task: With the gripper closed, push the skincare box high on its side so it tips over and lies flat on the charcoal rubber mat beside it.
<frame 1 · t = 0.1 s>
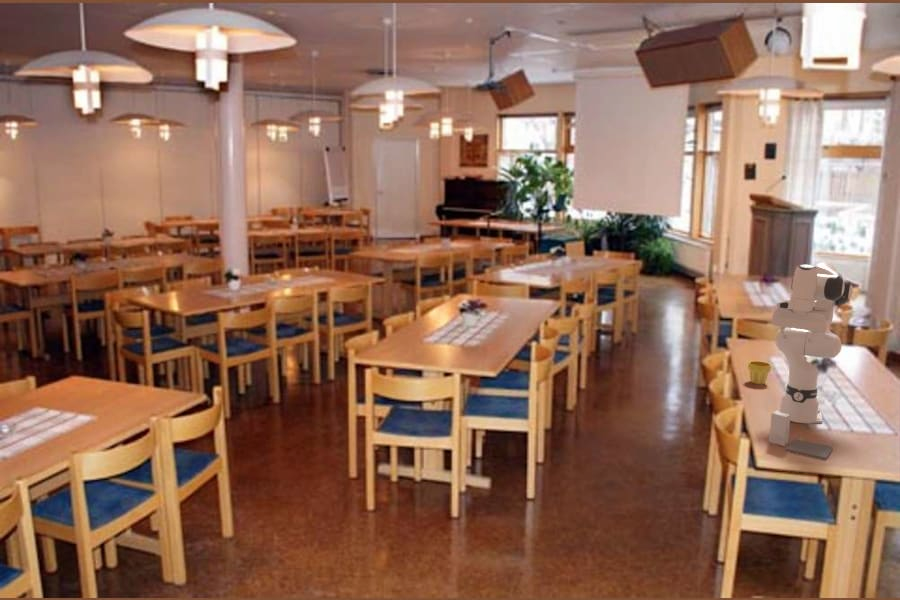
hand: (796, 340, 310), 39 cm above the table, tool pointing down, fingers open, 8 cm apart
skincare box: (778, 443, 306), on the table
plant pot: (757, 382, 387), on the table
rubber mat: (809, 450, 299), on the table
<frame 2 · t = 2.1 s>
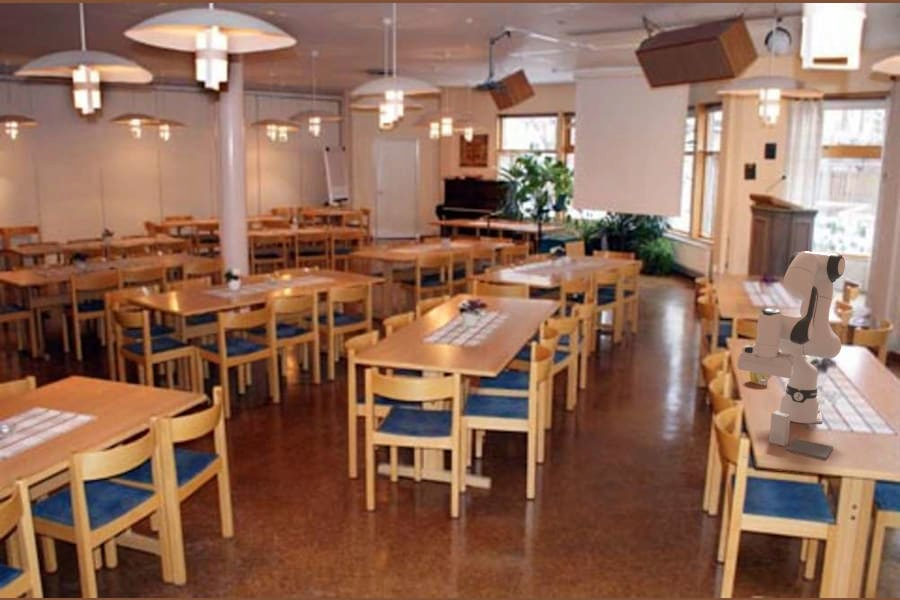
hand: (762, 384, 306), 22 cm above the table, tool pointing down, fingers closed
nothing on the table moved.
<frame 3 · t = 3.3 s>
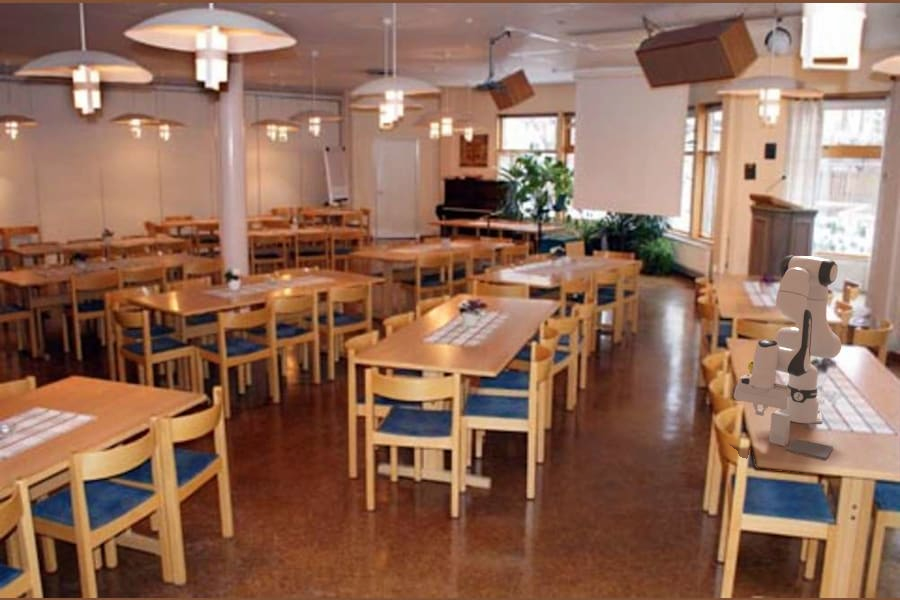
hand: (759, 414, 308), 10 cm above the table, tool pointing down, fingers closed
nothing on the table moved.
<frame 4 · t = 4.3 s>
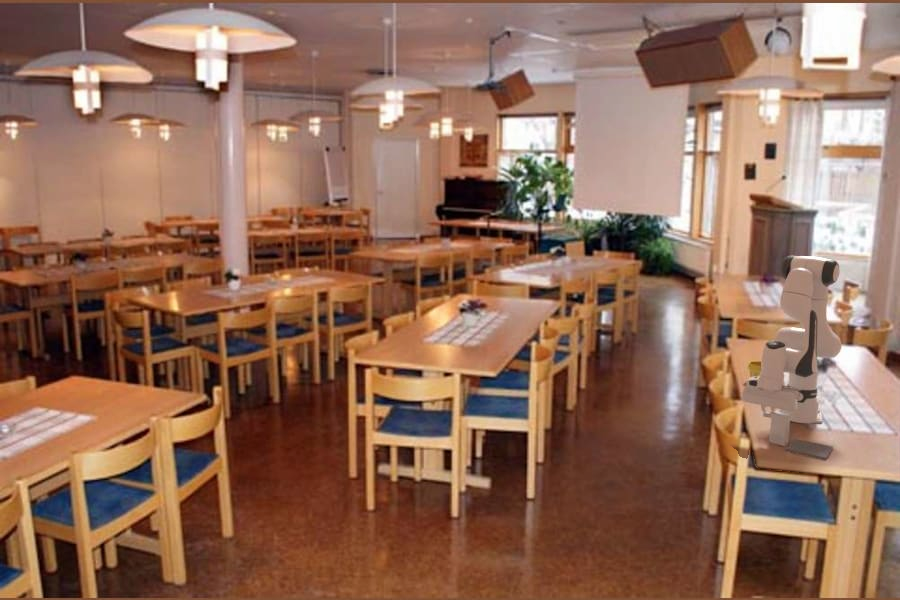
hand: (767, 416, 307), 10 cm above the table, tool pointing down, fingers closed
skincare box: (778, 443, 306), on the table, touching gripper
everything else where it was.
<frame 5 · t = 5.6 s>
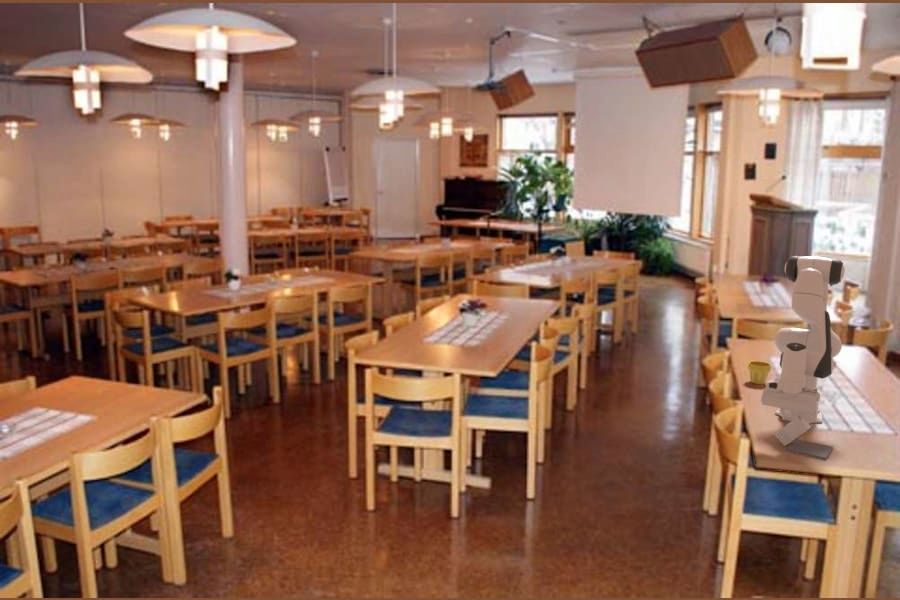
hand: (787, 420, 302), 10 cm above the table, tool pointing down, fingers closed
skincare box: (780, 439, 305), point 2 cm above the table, touching gripper
everything else where it was.
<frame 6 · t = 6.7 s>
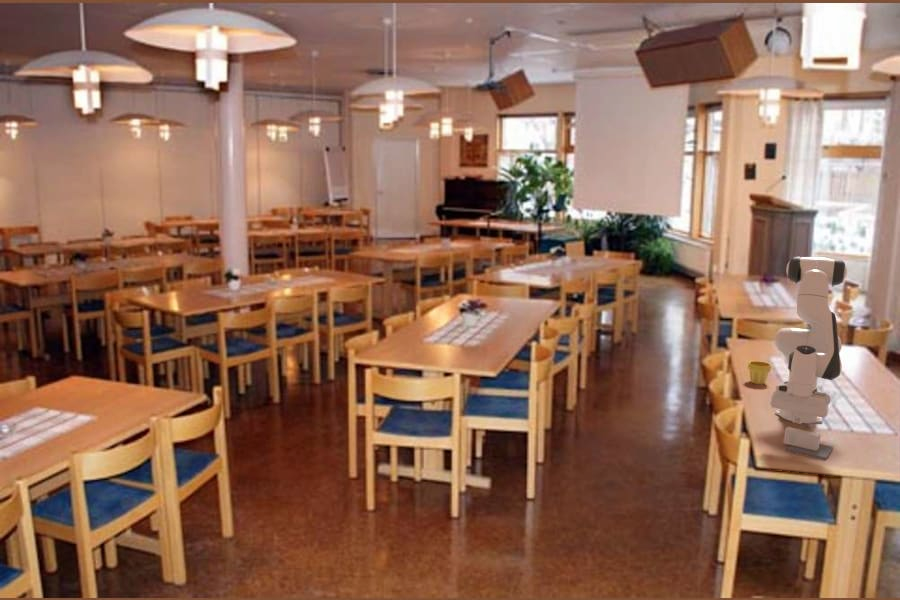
hand: (797, 423, 301), 10 cm above the table, tool pointing down, fingers closed
skincare box: (784, 434, 304), point 4 cm above the table, touching rubber mat
everything else where it was.
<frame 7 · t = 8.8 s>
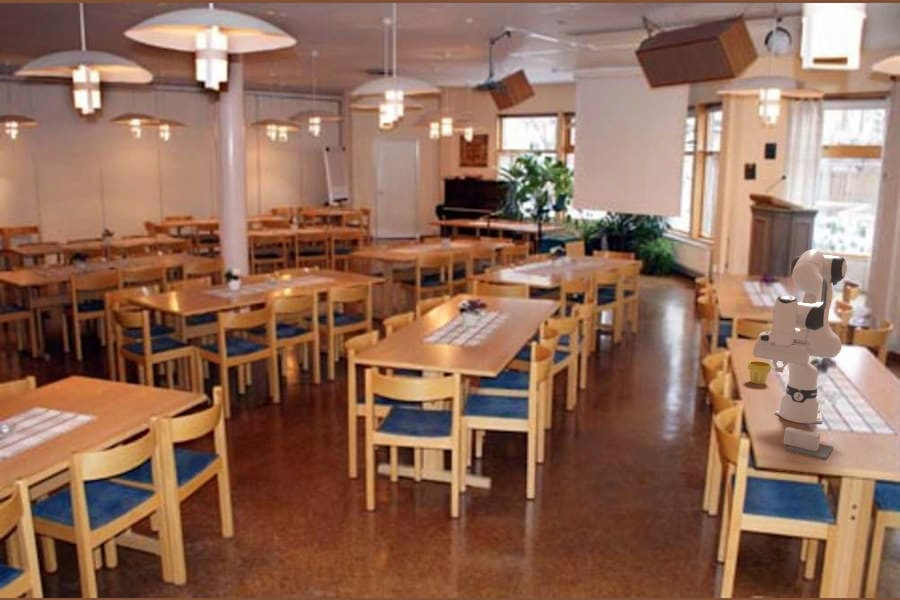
hand: (778, 371, 306), 27 cm above the table, tool pointing down, fingers closed
nothing on the table moved.
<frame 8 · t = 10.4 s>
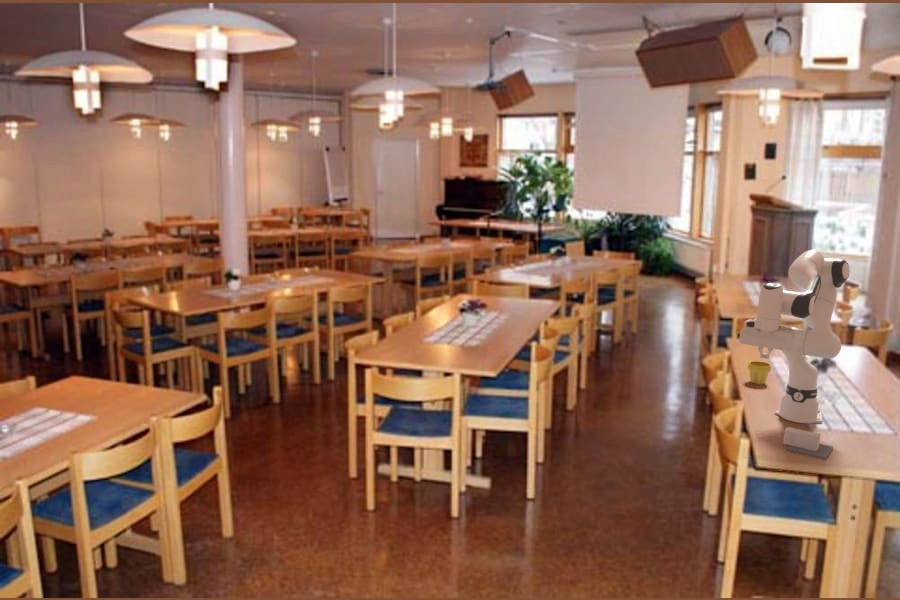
hand: (764, 358, 311), 31 cm above the table, tool pointing down, fingers closed
nothing on the table moved.
at the end: skincare box tilted 91°; skincare box touching rubber mat; the gripper is holding nothing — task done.
